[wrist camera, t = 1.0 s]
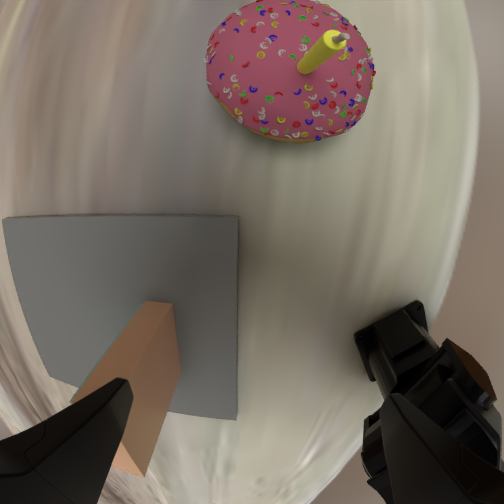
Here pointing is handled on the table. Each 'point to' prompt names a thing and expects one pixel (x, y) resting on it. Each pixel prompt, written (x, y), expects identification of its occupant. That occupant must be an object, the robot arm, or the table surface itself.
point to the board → (132, 293)
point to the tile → (141, 380)
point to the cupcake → (290, 70)
